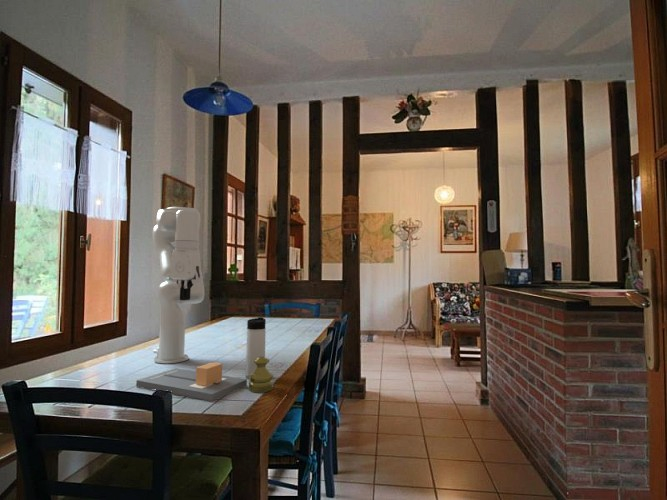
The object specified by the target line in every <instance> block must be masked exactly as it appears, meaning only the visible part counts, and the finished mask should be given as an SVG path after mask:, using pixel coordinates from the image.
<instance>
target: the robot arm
mask: <svg viewBox="0 0 667 500" xmlns="http://www.w3.org/2000/svg"><path fill="white" fill-rule="evenodd" d="M155 219H156V225H155V226H154V227H153V229H152V240H153V244H154V248H155V249H156V251H157V254H158V256H159V264H160V265H159V267H160V268H159V269H160V277H161V279H162V281H163V282H161V283H160V284H159V286H158V289H157V293H158V301H159V302H158V303H159V304H158V305H159V336H158V337H159V338H158V347H156V348H155V349H153V351H152V352H153V354H156V356H155V357H154V359H153V361H154V362H155V363H157V364H176V363H182V362H186V361H187V360H188V359H189V355H188V354H185V345H186V344H185V342H186V341H185V340H186V337H185V336H186V314H185V312H184V310H182V308H181V307H180V305H192V304H193V305H194V304H200V303H202V302H203V301H204V299H205V294H206V293H205V286H204V285H205V284H204V277H203V273H202V266H201V265H202V263H201V253H200V250H199V244H200V242H199V241H200V237H199V236H200V235H199V234H200V228H201V224H202V223H201V214H200V211H199V210H198V209H197V208H193V207H184V206H183V207H182V206H170V207H167V208H161V209H159V210H158V211H157V214H156V218H155ZM172 243H173V244H172Z"/></svg>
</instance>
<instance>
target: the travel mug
mask: <svg viewBox="0 0 667 500" xmlns="http://www.w3.org/2000/svg"><path fill="white" fill-rule="evenodd" d="M246 323H247V325H246V326H247V327H246V359H245V362H246V363H245V364H246V365H245V366H246V367H245V368H246V369H245V372H246V373H245V379H247V380H249V375H250V374H251V373H252V372H253V371H254V370H255V369H256V368H257V365H256V364H255V363H254V362H253V360H254V359H256V358H258V357H259V356H264V357H265V358H266V324H267V323H266V318H265V317H257V318H250V319H248V320H247V321H246Z"/></svg>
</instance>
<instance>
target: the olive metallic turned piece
mask: <svg viewBox="0 0 667 500" xmlns="http://www.w3.org/2000/svg"><path fill="white" fill-rule="evenodd" d="M253 362H254V363H255V364H256V365H257V368H256V369H255V370H254V371H253V372H252V373H251V374H250V375H249V379H248V380H249V381H248V390H249V391H250V392H251V393H256V394H259V393H262V394H263V393H267V392H270V391H271V390H272V391H273V388H274V382H273V379H274V375H273V373H272V372H271V371H269V369H268V368H267V367H266V366H267V364H269V363H270V359H269V358H267V357H266V356H265V357H264V356H259V357H258V358H256V359H254V360H253Z"/></svg>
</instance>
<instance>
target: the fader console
mask: <svg viewBox="0 0 667 500" xmlns="http://www.w3.org/2000/svg"><path fill="white" fill-rule="evenodd" d="M135 381H136V384H135V386H139V387H138V388H140V387H144V388H143V389H146V388H149V389H148V390H151V389H156V390H168V391H172V393H173V394H172V395H177V396H183V397H188V398H193V399H198V400H204V401H208V402H214V401H217V400H218V399H221V398H223V397H225V396H227V395H229V394H232V393H234V392H236V391H238V390H240V389H243V388H245V387H247V385H248V379H247V378H242V377H234V376H228V375H223V374H222V380H220V381H218V382H215V383H213V384H210V385H207V386H204V385H198V384H196V370H192V369H191V370H189V369H185V368H173V369H170V370H166V371H162V372H159V373H156V374H153V375H152V374H151V375H149V376H146V377H142V378H140V379H136V380H135ZM156 390H155V391H156Z"/></svg>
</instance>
